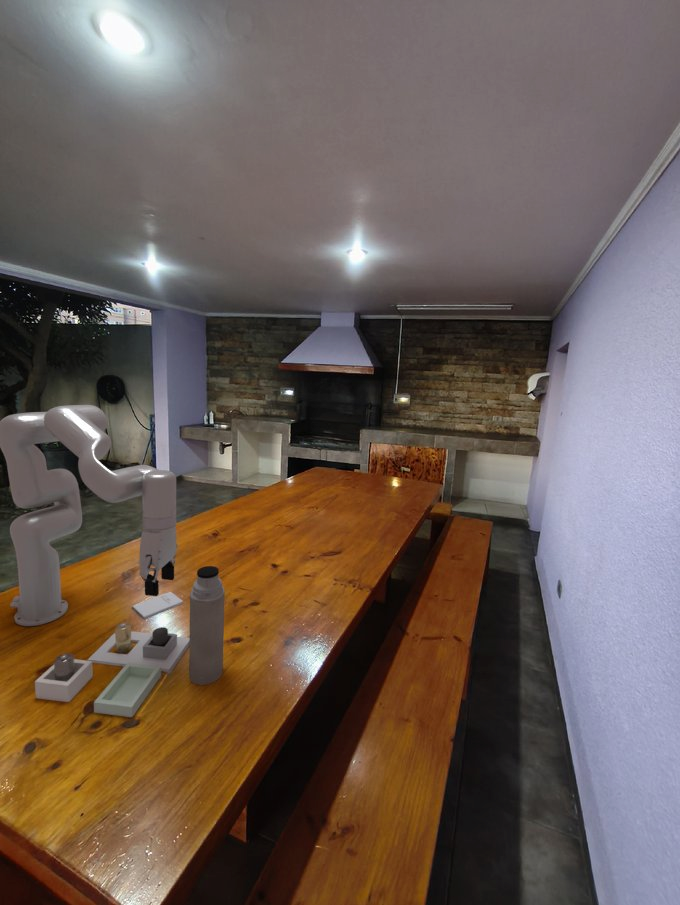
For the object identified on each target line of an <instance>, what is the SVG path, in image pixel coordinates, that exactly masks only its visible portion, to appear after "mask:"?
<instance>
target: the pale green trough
mask: <svg viewBox="0 0 680 905" xmlns="http://www.w3.org/2000/svg"><path fill="white" fill-rule="evenodd" d="M161 677H162V671H161V667H160V666H151V665H143V664H135V663H127V664H126V665H125V666H124V667H123V666H122V669H121V670H120V671H119V672H118V673H117V675H116V676H115V677H114V678H113V679H112V680H111V682H110V683H109V684H108V685H107V686H106V687H105V688H104V689H103V691H102V692H101V693H100V694H99V695H98V696H97V698H96V699H95V700H94V702H93V713H94V714H103V715H111V716H119V717H124V718H125V717H126V718H133V717H134V716H135V714H136V712H137V711H138V710H139V708H140V707H141V705H142V704H143V702H144V701H145V700H146V699H147V697H148V696H149V694H150V693H151V691H152V690H153V688H154V687H155V686H156V684H157V682H158V681H159V680H160V679H161Z"/></svg>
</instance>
